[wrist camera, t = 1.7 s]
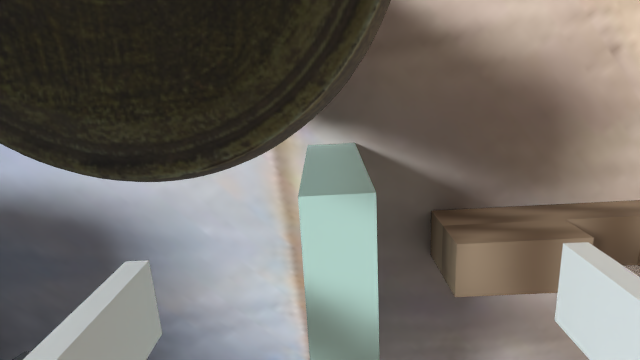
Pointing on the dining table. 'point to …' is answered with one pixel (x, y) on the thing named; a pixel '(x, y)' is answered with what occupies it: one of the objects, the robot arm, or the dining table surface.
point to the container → (171, 79)
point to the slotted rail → (527, 244)
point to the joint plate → (339, 254)
